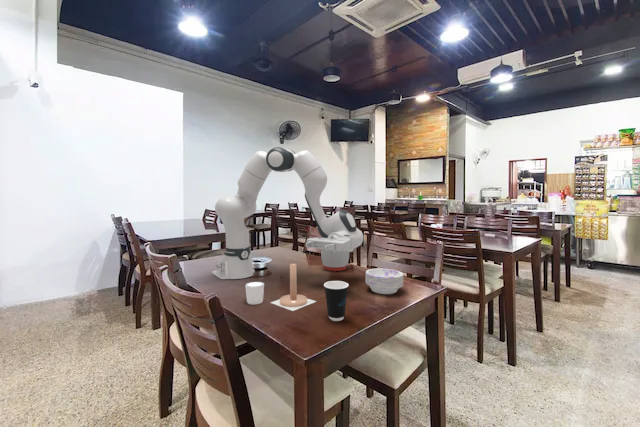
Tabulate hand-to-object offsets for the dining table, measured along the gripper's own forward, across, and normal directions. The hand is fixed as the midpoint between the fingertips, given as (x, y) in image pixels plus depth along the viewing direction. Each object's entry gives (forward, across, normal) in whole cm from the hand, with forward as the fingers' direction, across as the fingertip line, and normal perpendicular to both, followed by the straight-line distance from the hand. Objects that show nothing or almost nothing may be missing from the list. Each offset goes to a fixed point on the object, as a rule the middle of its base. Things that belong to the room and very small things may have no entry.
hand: (315, 246), depth 118 cm
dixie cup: (+13, +20, +20) cm, 31 cm away
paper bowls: (-21, +18, +20) cm, 34 cm away
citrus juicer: (-37, -20, +19) cm, 46 cm away
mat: (+13, 0, +19) cm, 23 cm away
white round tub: (+22, -11, +19) cm, 31 cm away
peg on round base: (+13, 0, +19) cm, 23 cm away
